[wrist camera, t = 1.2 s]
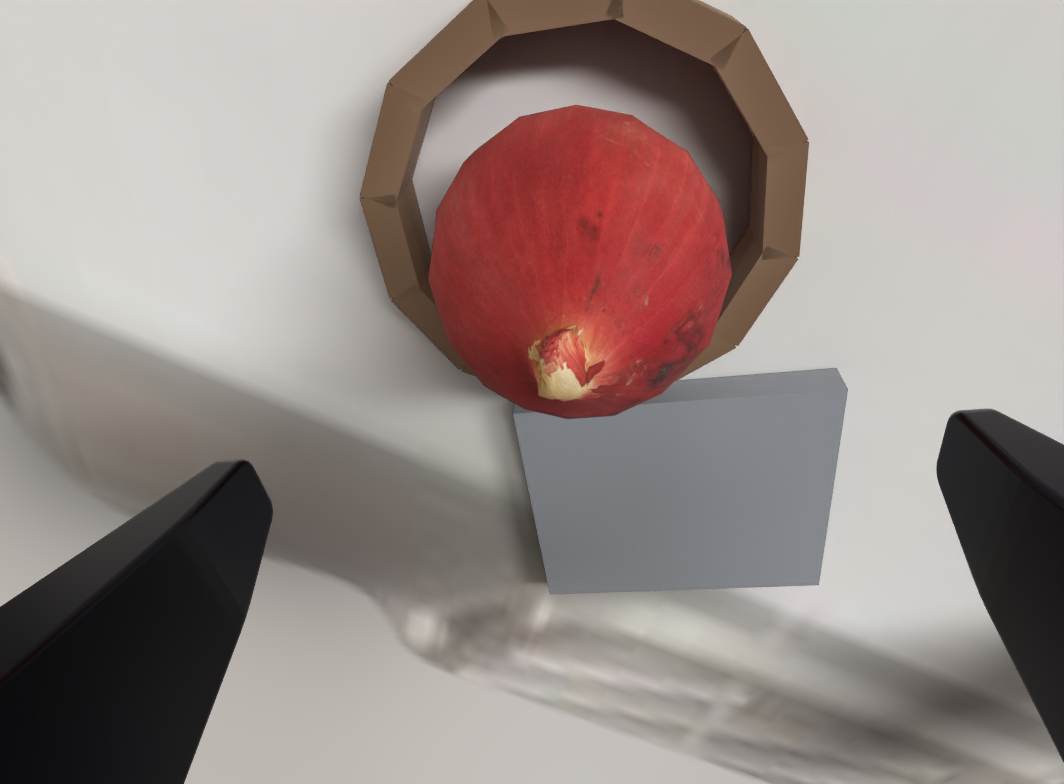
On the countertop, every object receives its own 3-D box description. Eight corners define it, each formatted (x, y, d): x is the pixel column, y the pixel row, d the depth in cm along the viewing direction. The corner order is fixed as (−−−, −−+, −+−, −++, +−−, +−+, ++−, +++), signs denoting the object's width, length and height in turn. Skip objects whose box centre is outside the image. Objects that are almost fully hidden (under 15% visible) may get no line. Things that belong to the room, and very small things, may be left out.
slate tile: (836, 368, 18) (847, 388, 18) (810, 561, 23) (818, 585, 22) (516, 393, 20) (512, 413, 19) (551, 571, 24) (549, 594, 24)
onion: (755, 168, 16) (870, 352, 9) (608, 344, 19) (616, 575, 12) (543, 15, 14) (500, 102, 8) (422, 232, 17) (316, 429, 11)
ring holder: (803, -69, 13) (827, -67, 12) (774, 352, 18) (788, 385, 17) (331, 10, 14) (306, 20, 13) (435, 380, 20) (424, 413, 18)
